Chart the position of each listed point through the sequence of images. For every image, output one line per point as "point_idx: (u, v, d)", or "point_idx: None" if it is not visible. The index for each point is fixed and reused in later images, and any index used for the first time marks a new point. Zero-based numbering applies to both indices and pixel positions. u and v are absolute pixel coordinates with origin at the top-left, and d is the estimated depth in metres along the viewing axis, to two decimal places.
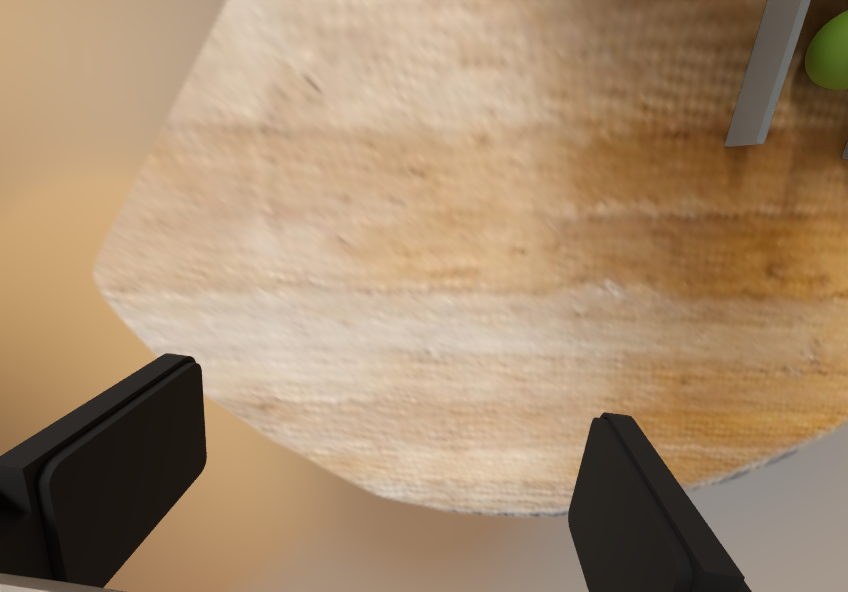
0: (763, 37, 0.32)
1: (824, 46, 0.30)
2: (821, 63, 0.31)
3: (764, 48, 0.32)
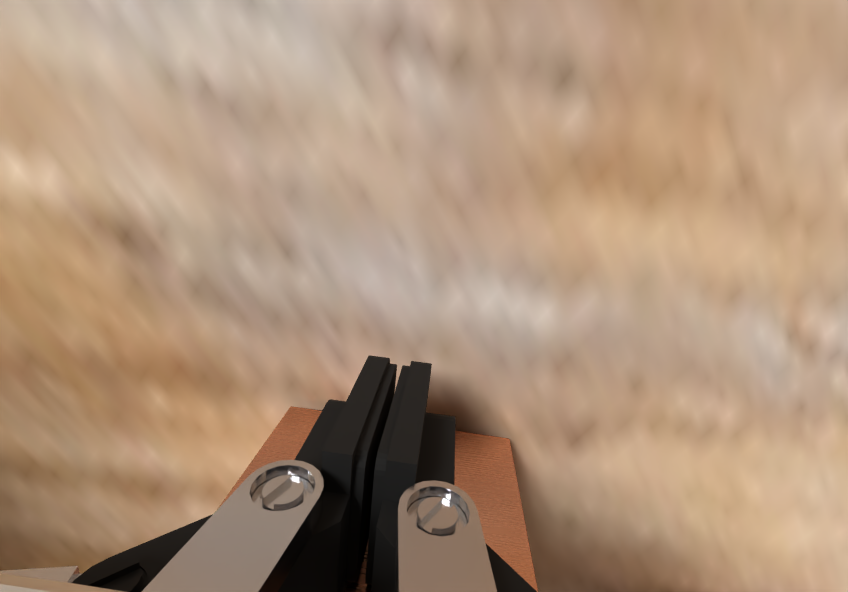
0: None
1: None
2: None
3: None
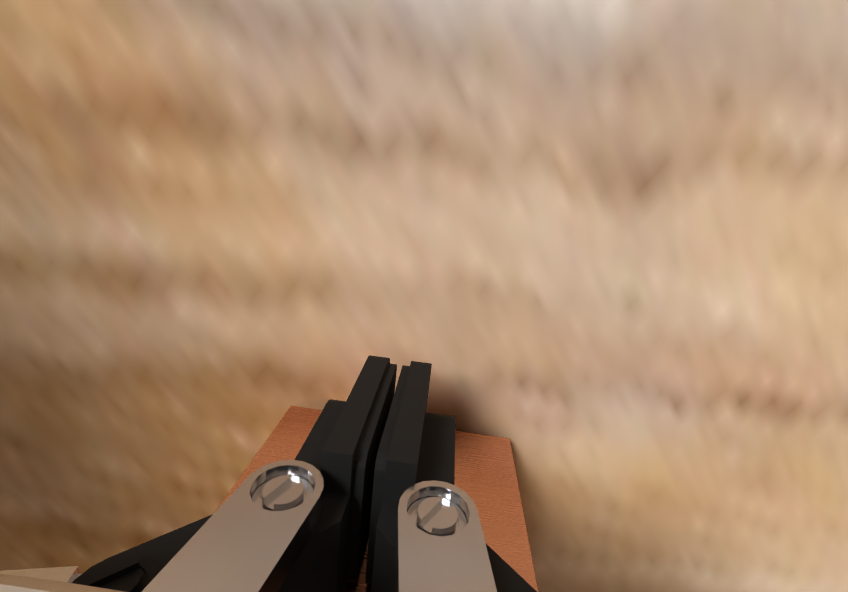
0: None
1: None
2: None
3: None
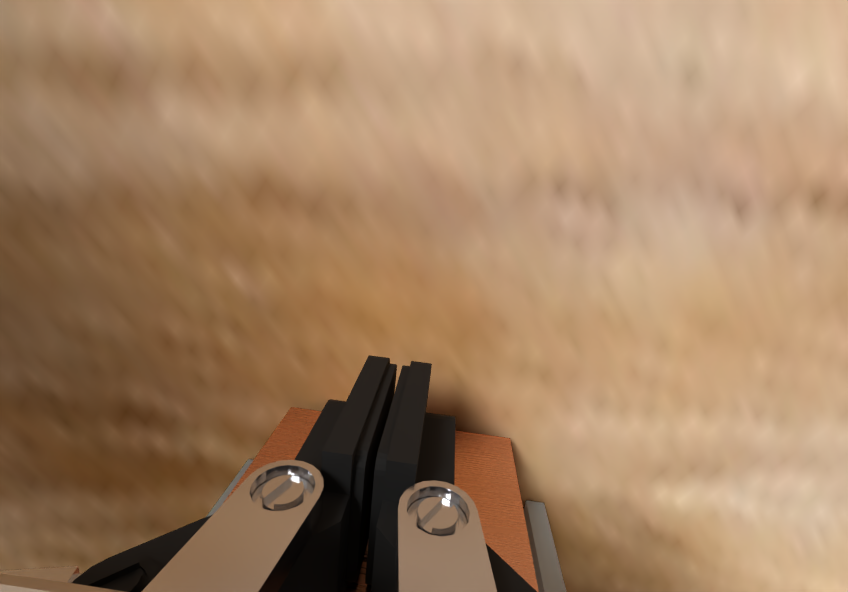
0: None
1: None
2: None
3: None
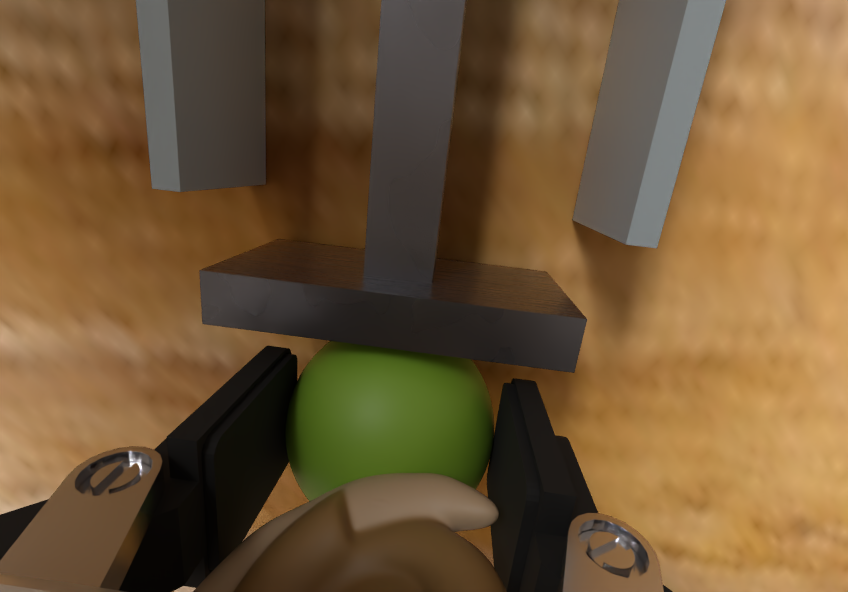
0: None
1: None
2: None
3: None
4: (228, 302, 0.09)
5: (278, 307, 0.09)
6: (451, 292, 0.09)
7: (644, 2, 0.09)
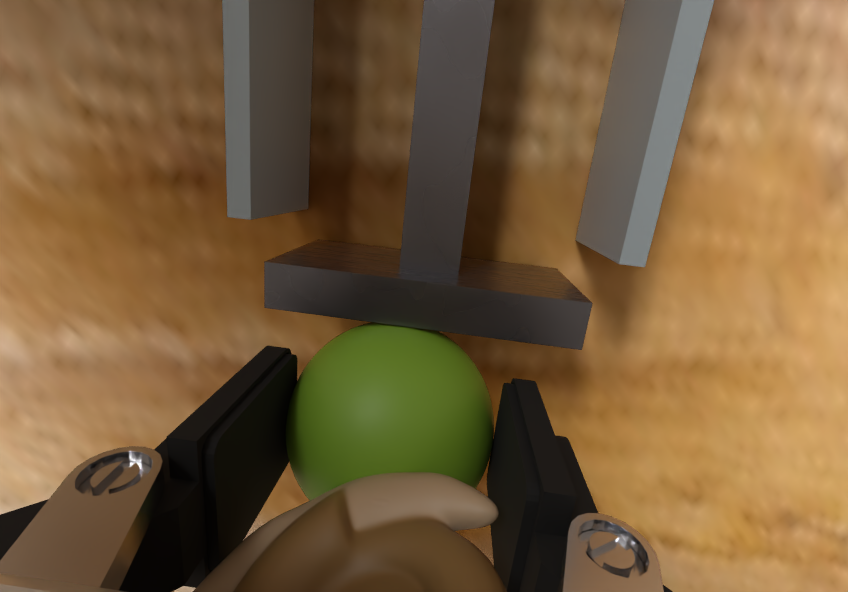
0: None
1: None
2: None
3: None
4: (287, 289, 0.10)
5: (329, 293, 0.10)
6: (476, 282, 0.11)
7: (633, 63, 0.11)
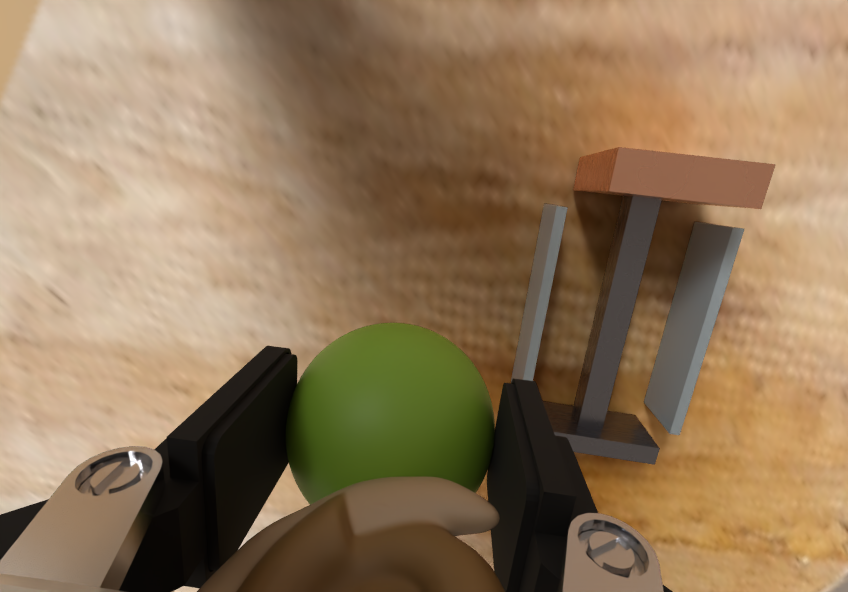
0: (532, 281, 0.28)
1: None
2: None
3: (530, 296, 0.28)
4: None
5: None
6: (612, 435, 0.27)
7: (674, 351, 0.27)
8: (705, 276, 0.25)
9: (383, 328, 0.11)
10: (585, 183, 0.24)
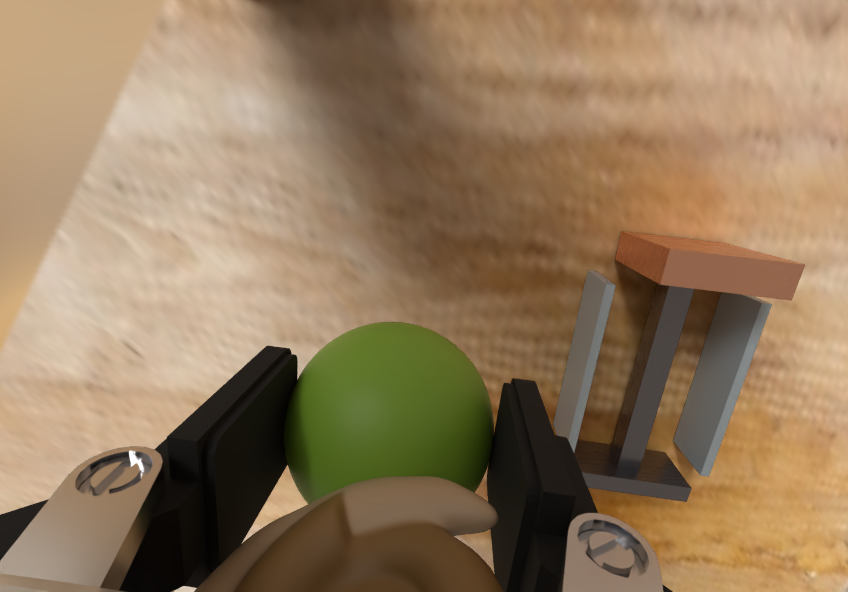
0: (576, 339, 0.31)
1: None
2: None
3: (575, 353, 0.31)
4: None
5: (599, 482, 0.30)
6: (648, 476, 0.31)
7: (703, 401, 0.30)
8: (734, 340, 0.28)
9: (382, 327, 0.10)
10: (630, 261, 0.27)
